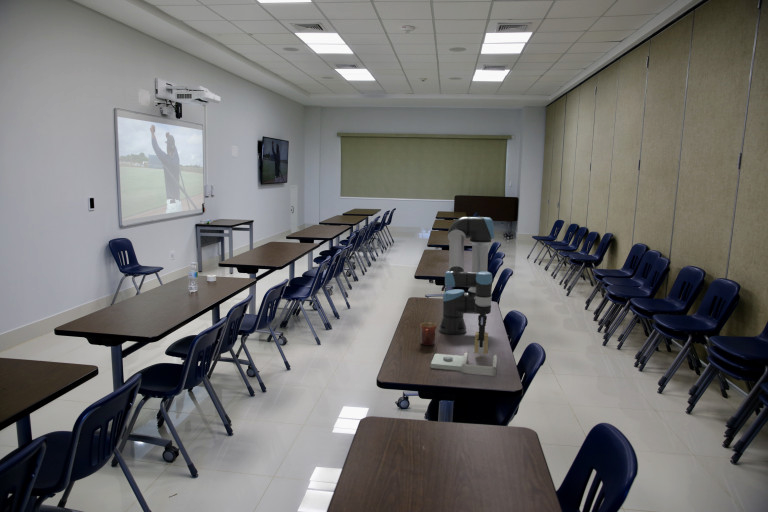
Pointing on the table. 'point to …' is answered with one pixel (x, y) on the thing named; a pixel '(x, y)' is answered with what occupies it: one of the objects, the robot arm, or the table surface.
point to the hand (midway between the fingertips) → (481, 350)
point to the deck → (462, 364)
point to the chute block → (484, 342)
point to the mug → (428, 333)
